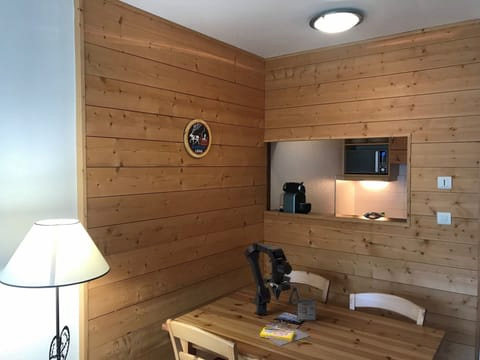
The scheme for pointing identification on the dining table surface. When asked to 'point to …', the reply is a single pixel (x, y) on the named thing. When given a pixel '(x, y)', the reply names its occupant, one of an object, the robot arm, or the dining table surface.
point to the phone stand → (293, 295)
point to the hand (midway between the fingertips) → (277, 299)
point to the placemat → (296, 337)
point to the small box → (306, 309)
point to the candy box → (277, 334)
